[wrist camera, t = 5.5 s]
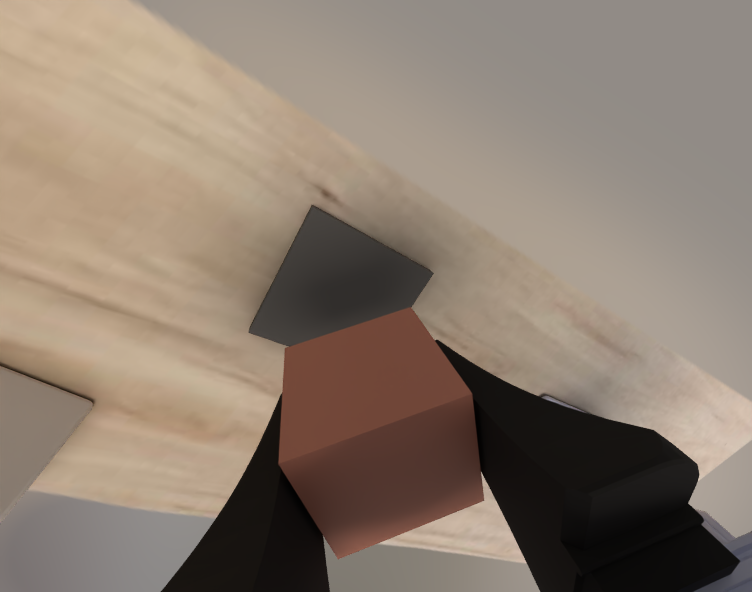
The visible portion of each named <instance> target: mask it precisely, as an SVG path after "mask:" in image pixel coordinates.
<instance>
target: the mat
mask: <svg viewBox="0 0 752 592" xmlns="http://www.w3.org/2000/svg"><path fill="white" fill-rule="evenodd" d="M433 274H434V273H432V272H431V271H430V270H429V269H427V268H425V267H423V266H422V265H420V264H418V263H416V262H414V261H412V260H411V259H409V258H407V257H405V256H403V255H402V254H400V253H398V252H396V251H394V250H393V249H391V248H389V247H387V246H385V245H384V244H382V243H380V242H378V241H376V240H375V239H373V238H371V237H369V236H367V235H366V234H364V233H362V232H360V231H358V230H357V229H355V228H353V227H351V226H349V225H348V224H346V223H344V222H342V221H340V220H339V219H337V218H335V217H333V216H331V215H330V214H328V213H326V212H324V211H322V210H321V209H319V208H317V207H315V206H313V205H312V206H311V208H310V210H309V212H308V214H307V216H306V218H305V220H304V222H303V224H302V226H301V228H300V230H299V232H298V234H297V236H296V238H295V240H294V242H293V244H292V246H291V247H290V249H289V251H288V253H287V255H286V257H285V259H284V261H283V263H282V265H281V267H280V269H279V271H278V273H277V275H276V277H275V279H274V281H273V283H272V285H271V287H270V289H269V291H268V293H267V295H266V297H265V299H264V301H263V303H262V305H261V307H260V309H259V311H258V313H257V315H256V316H255V318H254V320H253V322H252V324H251V326H250V329H249V333H251V334H254V335H257V336H260V337H263V338H266V339H269V340H272V341H274V342H277V343H280V344H283V345H286V346H289V347H290V346H293V345H296V344H299V343H302V342H305V341H308V340H311V339H314V338H317V337H320V336H324V335H327V334H330V333H333V332H336V331H339V330H342V329H345V328H348V327H351V326H354V325H357V324H360V323H363V322H366V321H369V320H372V319H375V318H378V317H382V316H385V315H388V314H391V313H394V312H397V311H400V310H403V309H406V308H409V307H412V305H413V304H414V302H415V301H416V299H417V298H418V296H419V295H420V293H421V292H422V290H423V289H424V287H425V286H426V284H427V283H428V281H429V280H430V278H431V277H432V275H433Z"/></svg>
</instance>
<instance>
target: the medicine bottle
mask: <svg viewBox="0 0 752 592" xmlns="http://www.w3.org/2000/svg"><path fill="white" fill-rule="evenodd" d="M92 406H93V403H92V402H91V401H89V400H87V399H84V398H82V397H79V396H77V395H74V394H72V393H69V392H66V391H64V390H61V389H59V388H56V387H53V386H51V385H48V384H46V383H43V382H41V381H38V380H35V379H33V378H30V377H28V376H25V375H23V374H20V373H17V372H15V371H12V370H10V369H7V368H4V367H2V366H0V524H1V522H2V521H3V520H4V518H5V517H6V516H7V515H8V514H9V512H10V511H11V510H12V509H13V507H14V506H15V505H16V503H17V502H18V501H19V500H20V498H21V497H22V496H23V495H24V493H25V492H26V491H27V490H28V488H29V487H30V486H31V485H32V483H33V482H34V481H35V480H36V478H37V477H38V476H39V475H40V473H41V472H42V471H43V470H44V468H45V467H46V466H47V464H48V463H49V462H50V461H51V459H52V458H53V457H54V456H55V454H56V453H57V452H58V451H59V449H60V448H61V447H62V446H63V444H64V443H65V442H66V441H67V439H68V438H69V437H70V436H71V434H72V433H73V432H74V430H75V429H76V428H77V427H78V425H79V424H80V423H81V422H82V420H83V419H84V418H85V417H86V415H87V414H88V413H89V412H90V410H91V409H92Z"/></svg>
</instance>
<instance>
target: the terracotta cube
mask: <svg viewBox="0 0 752 592" xmlns="http://www.w3.org/2000/svg"><path fill="white" fill-rule="evenodd" d="M278 464H279V466H280V467H281V469H282V471H283V472H284V474H285V475H286V477H287V479H288V480H289V482H290V483H291V485H292V487H293V488H294V490H295V491H296V493H297V494H298V496H299V498H300V499H301V501H302V502H303V504H304V506H305V507H306V509H307V510H308V512H309V514H310V515H311V517H312V518H313V520H314V522H315V523H316V525H317V526H318V528H319V530H320V531H321V533H322V534H323V536H324V537H325V539H326V541H327V542H328V544H329V545H330V547H331V548H332V550H333V552H334V553H335V555H336V556H337V558H338V559H340V558H342V557H345V556H347V555H350V554H352V553H355V552H357V551H360V550H362V549H365V548H367V547H370V546H372V545H375V544H377V543H380V542H382V541H385V540H387V539H390V538H392V537H395V536H397V535H400V534H402V533H405V532H407V531H410V530H412V529H415V528H417V527H420V526H422V525H425V524H427V523H430V522H432V521H435V520H437V519H440V518H442V517H445V516H447V515H449V514H452V513H454V512H457V511H459V510H462V509H464V508H467V507H469V506H472V505H474V504H477V503H479V502H482V501H484V495H483V486H482V477H481V468H480V459H479V450H478V441H477V432H476V423H475V415H474V406H473V397H472V393H471V391H470V390H469V388H468V387H467V386H466V384H465V383H464V381H463V380H462V378H461V377H460V376H459V374H458V373H457V371H456V370H455V369H454V367H453V366H452V364H451V363H450V362H449V360H448V359H447V357H446V356H445V355H444V353H443V352H442V350H441V349H440V347H439V346H438V345H437V343H436V342H435V340H434V339H433V338H432V336H431V335H430V333H429V332H428V331H427V329H426V328H425V326H424V325H423V324H422V322H421V321H420V319H419V318H418V316H417V315H416V314H415V312H414V311H413V309H412V308H411V307H409V308H406V309H403V310H400V311H397V312H394V313H391V314H388V315H385V316H382V317H378V318H375V319H372V320H369V321H366V322H363V323H360V324H357V325H354V326H351V327H348V328H345V329H342V330H339V331H336V332H333V333H330V334H327V335H324V336H320V337H317V338H314V339H311V340H308V341H305V342H302V343H299V344H296V345H293V346H290V347H287V348H285V358H284V375H283V392H282V410H281V427H280V445H279V462H278Z"/></svg>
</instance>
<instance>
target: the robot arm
mask: <svg viewBox="0 0 752 592" xmlns="http://www.w3.org/2000/svg"><path fill="white" fill-rule="evenodd" d="M435 342H436V343H437V345H438V346H439V347H440V349H441V350H442V352H443V353H444V355H445V356H446V357H447V359H448V360H449V362H450V363H451V364H452V366H453V367H454V369H455V370H456V371H457V373H458V374H459V376H460V377H461V378H462V380H463V381H464V383H465V384H466V386H467V387H468V388H469V390H470V391H471V393H472V397H473V406H474V415H475V423H476V432H477V441H478V450H479V459H480V468H481V472H482V474H483V476H484V478H485V480H486V482H487V484H488V485H489V487H490V489H491V491H492V493H493V495H494V497H495V499H496V501H497V503H498V505H499V507H500V509H501V511H502V513H503V515H504V517H505V519H506V521H507V523H508V525H509V527H510V529H511V531H512V533H513V535H514V537H515V540H516V542H517V544H518V546H519V548H520V550H521V552H522V554H523V556H524V558H525V560H526V562H527V564H528V566H529V568H530V571H531V573H532V575H533V577H534V579H535V581H536V583H537V585H538V587H539V590H540V592H752V531H751V532H749V533H747V534H745V535H742V536H740V537H738V538H735V537H734V536H732V535H731V534H730V533H729V532H728V531H727V530H726V529H725V528H723V527H722V526H721V525H720V524H719V523H718V522H717V521H716V520H714V519H713V518H712V517H711V516H710V515H709V514H708V513H706V512H705V511H701V510H695V509H694V508H692V506H690V505H689V504H688V502H689V500H690V498H691V495H692V493H693V491H694V489H695V486H696V484H697V482H698V478H699V470H698V465H697V463H695V462H694V461H693V460H692V459H690V458H689V457H688V456H687V455H686V454H684V453H683V452H682V451H681V450H679V449H678V448H677V447H676V446H675V445H673V444H672V443H671V442H669V441H668V440H667V439H665V438H664V437H662V436H661V435H660V434H658V433H657V432H655V431H654V430H651V429H647V428H643V427H638V426H634V425H630V424H626V423H621V422H617V421H613V420H609V419H605V418H602V417H598V416H595V415H591V414H589V413H586V412H584V411H582V410H579V409H577V408H575V407H572V406H570V405H568V404H565V403H563V402H561V401H558V400H556V399H554V398H551V397H549V396H543V397H542V398H541V397H539V396H536V395H534V394H531V393H529V392H527V391H524V390H522V389H520V388H518V387H516V386H513V385H511V384H509V383H507V382H505V381H503V380H502V379H500V378H498V377H496V376H494V375H492V374H490V373H489V372H487V371H485V370H483V369H482V368H480V367H478V366H477V365H475V364H473V363H472V362H470V361H469V360H467V359H465V358H464V357H462V356H461V355H459V354H458V353H456V352H455V351H453V350H452V349H450V348H449V347H448V346H446V345H445V344H443V343H442V342H440V341H439V340H435ZM281 410H282V394H281V396H280V398H279V400H278V403H277V405H276V407H275V410H274V412H273V414H272V417H271V419H270V421H269V424H268V426H267V428H266V430H265V432H264V434H263V437H262V439H261V441H260V443H259V445H258V447H257V449H256V451H255V453H254V455H253V457H252V459H251V461H250V463H249V465H248V466H247V468H246V470H245V472H244V474H243V476H242V478H241V479H240V481H239V483H238V485H237V486H236V488H235V490H234V491H233V493H232V495H231V496H230V498H229V499H228V501H227V503H226V504H225V506H224V507H223V509H222V510H221V512H220V513H219V515H218V516H217V518H216V519H215V521H214V522H213V524H212V525H211V527H210V528H209V529H208V531H207V532H206V534H205V535H204V537H203V538H202V539H201V541H200V542H199V544H198V545H197V546H196V548H195V549H194V551H193V552H192V553H191V555H190V556H189V557H188V558H187V560H186V561H185V562H184V563H183V565H182V566H181V567H180V569H179V570H178V571H177V572H176V574H175V575H174V576H173V577H172V579H171V580H170V581H169V582H168V584H167V585H166V586H165V587H164V589H163V590H162V591H161V592H330V590H329V582H328V574H327V566H326V558H325V549H324V540H323V534H322V533H321V531H320V530H319V528H318V526H317V525H316V523H315V522H314V520H313V518H312V517H311V515H310V514H309V512H308V510H307V509H306V507H305V506H304V504H303V502H302V501H301V499H300V498H299V496H298V494H297V493H296V491H295V490H294V488H293V487H292V485H291V483H290V482H289V480H288V479H287V477H286V475H285V474H284V472H283V471H282V469H281V467H280V466H279V464H278V462H279V445H280V427H281Z"/></svg>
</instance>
